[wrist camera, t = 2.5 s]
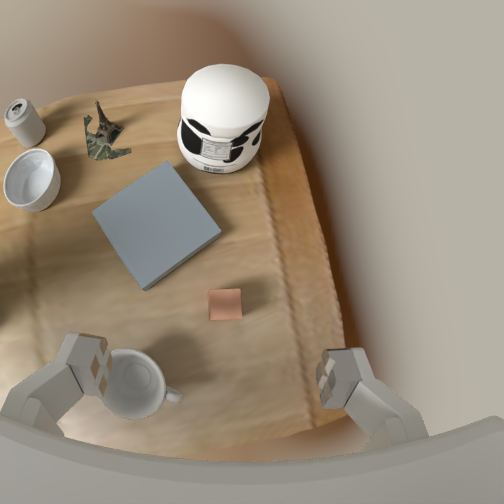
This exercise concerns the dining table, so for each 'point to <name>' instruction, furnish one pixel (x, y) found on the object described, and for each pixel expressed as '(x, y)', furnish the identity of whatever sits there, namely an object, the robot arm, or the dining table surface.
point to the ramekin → (32, 180)
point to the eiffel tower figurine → (103, 138)
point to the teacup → (136, 385)
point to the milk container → (222, 118)
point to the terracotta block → (225, 304)
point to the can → (25, 123)
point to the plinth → (156, 225)
